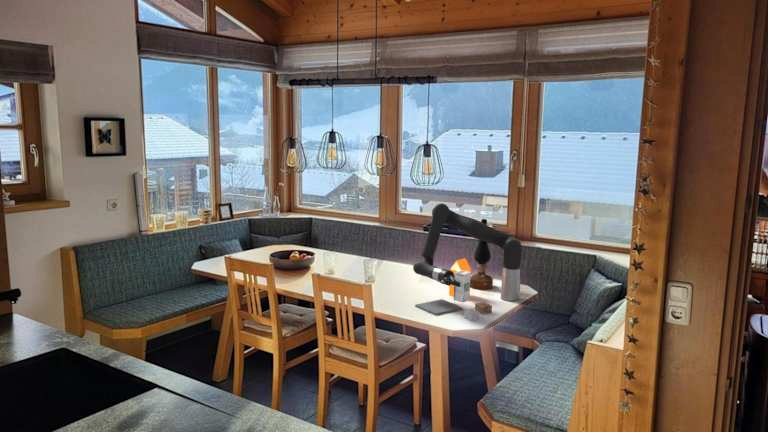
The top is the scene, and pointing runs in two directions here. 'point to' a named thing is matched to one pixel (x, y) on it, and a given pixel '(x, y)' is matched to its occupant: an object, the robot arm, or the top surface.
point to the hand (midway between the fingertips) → (465, 283)
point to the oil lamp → (482, 266)
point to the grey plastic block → (471, 315)
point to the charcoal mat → (438, 307)
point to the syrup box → (462, 286)
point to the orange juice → (456, 267)
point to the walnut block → (483, 308)
